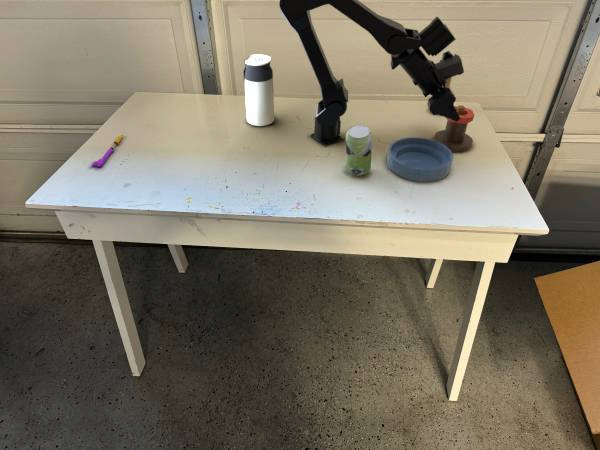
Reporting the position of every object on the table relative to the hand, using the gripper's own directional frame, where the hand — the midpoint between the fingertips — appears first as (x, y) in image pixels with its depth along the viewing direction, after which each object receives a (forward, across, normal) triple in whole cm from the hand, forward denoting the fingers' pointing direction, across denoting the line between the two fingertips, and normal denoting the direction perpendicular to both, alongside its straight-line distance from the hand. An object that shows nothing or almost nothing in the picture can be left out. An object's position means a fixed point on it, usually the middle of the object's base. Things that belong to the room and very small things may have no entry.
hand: (455, 111), depth 116 cm
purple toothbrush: (-57, -12, +70) cm, 91 cm away
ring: (+2, 0, 0) cm, 2 cm away
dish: (0, -12, +13) cm, 18 cm away
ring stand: (+7, 0, +6) cm, 9 cm away
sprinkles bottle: (+7, +19, +6) cm, 21 cm away
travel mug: (-31, +9, +44) cm, 54 cm away
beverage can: (-11, -17, +24) cm, 31 cm away
